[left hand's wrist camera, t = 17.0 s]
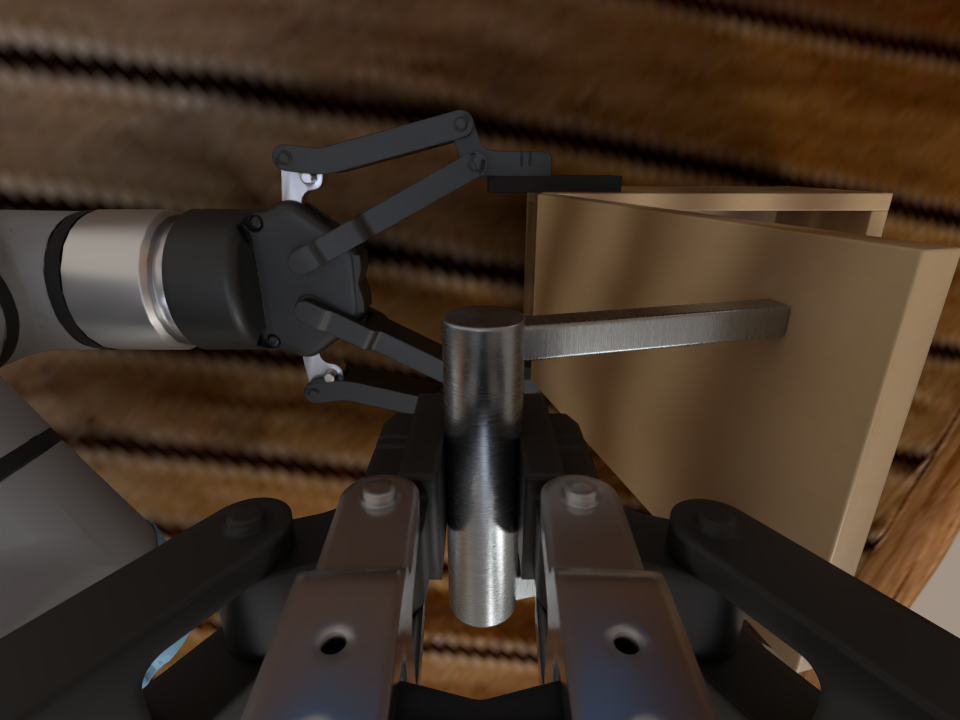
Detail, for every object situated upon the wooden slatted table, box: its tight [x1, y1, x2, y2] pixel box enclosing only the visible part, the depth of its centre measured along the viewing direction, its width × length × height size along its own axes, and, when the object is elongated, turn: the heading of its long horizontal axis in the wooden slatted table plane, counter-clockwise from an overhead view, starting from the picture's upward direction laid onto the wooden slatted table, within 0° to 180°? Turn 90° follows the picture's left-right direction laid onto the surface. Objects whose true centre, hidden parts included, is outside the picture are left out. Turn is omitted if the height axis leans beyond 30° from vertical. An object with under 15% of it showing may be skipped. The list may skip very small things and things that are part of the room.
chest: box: [523, 186, 893, 316], centre depth 30 cm, size 16×9×9 cm, turn 90°
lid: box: [442, 194, 960, 673], centre depth 17 cm, size 17×9×8 cm
